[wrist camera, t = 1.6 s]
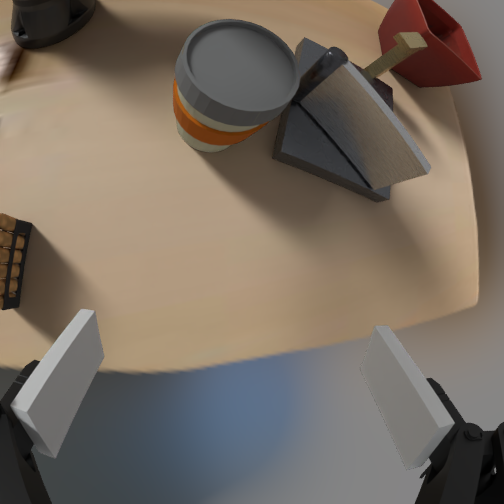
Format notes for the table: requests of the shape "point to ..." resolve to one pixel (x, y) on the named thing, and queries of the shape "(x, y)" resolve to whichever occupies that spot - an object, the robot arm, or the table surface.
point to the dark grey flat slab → (322, 135)
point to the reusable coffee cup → (231, 83)
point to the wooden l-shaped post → (397, 53)
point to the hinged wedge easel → (359, 121)
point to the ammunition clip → (12, 259)
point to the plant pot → (430, 44)
